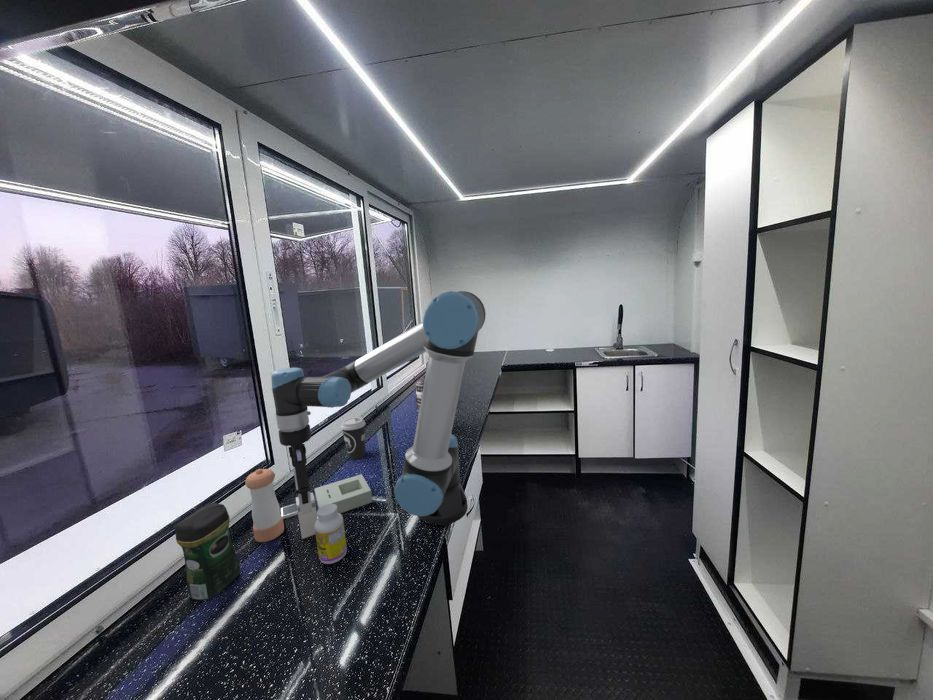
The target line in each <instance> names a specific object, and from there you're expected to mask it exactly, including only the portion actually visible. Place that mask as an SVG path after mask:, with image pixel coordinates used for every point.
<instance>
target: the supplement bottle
mask: <svg viewBox="0 0 933 700" xmlns="http://www.w3.org/2000/svg"><path fill="white" fill-rule="evenodd" d="M316 512H317V520H316V522H315V533H316V534H315V541H316V547H317V555H318V559H319V561H320V563H323V564H324V565H331V564H335V563H337V562H339V561H340V560H342V559H343V558H344V557H345V556H346V554H347V551H348V547H347V539H346V531H345V530H346V529H345V523H344V516H343V515H342V513H338V509H337V505H336V504H326V505H323V506H322V507H320V508H319V509H318V508H317V509H316Z"/></svg>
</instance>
